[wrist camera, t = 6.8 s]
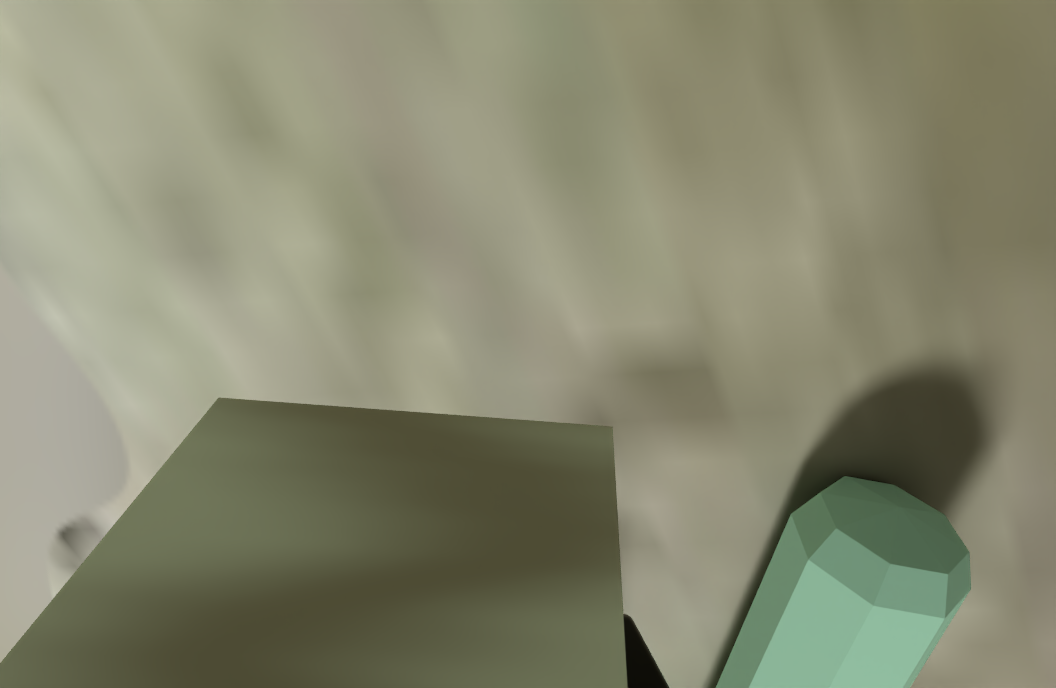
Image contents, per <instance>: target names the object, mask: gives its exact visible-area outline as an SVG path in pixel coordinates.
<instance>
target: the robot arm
mask: <svg viewBox="0 0 1056 688" xmlns="http://www.w3.org/2000/svg"><path fill="white" fill-rule="evenodd" d="M623 618H624V636H625V653H626V670H627V688H669V686H668V684H667V682H666V681H665V679H664V677H663V675H662V673H661V671H660V669H659V668H658V666H657V664H656V662H655V660H654V658H653V656H652V655H651V653H650V651H649V649H648V647H647V645H646V643H645V642H644V640H643V638H642V636H641V634H640V632H639V630H638V629H637V627H636V625H635V623H634V621H633V620H632V618H631V617H630V616H628V615H626V614H623Z"/></svg>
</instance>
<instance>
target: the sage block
mask: <svg viewBox="0 0 1056 688" xmlns="http://www.w3.org/2000/svg"><path fill="white" fill-rule="evenodd" d="M0 688H627V670H626V653H625V636H624V618H623V601H622V584H621V566H620V549H619V532H618V514H617V497H616V480H615V462H614V445H613V428H612V427H611V426H598V425H584V424H570V423H557V422H543V421H529V420H516V419H502V418H488V417H475V416H461V415H448V414H434V413H420V412H407V411H393V410H379V409H366V408H352V407H338V406H325V405H311V404H297V403H284V402H270V401H257V400H243V399H229V398H218V399H217V400H216V402H215V403H214V404H213V405H212V406H211V408H210V409H209V410H208V411H207V412H206V414H205V415H204V416H203V417H202V419H201V420H200V421H199V422H198V423H197V425H196V426H195V427H194V428H193V430H192V431H191V432H190V433H189V434H188V436H187V437H186V438H185V439H184V440H183V442H182V443H181V444H180V445H179V447H178V448H177V449H176V450H175V451H174V453H173V454H172V455H171V456H170V457H169V459H168V460H167V461H166V462H165V464H164V465H163V466H162V467H161V468H160V470H159V471H158V472H157V473H156V475H155V476H154V477H153V478H152V479H151V481H150V482H149V483H148V484H147V485H146V487H145V488H144V489H143V490H142V492H141V493H140V494H139V495H138V496H137V498H136V499H135V500H134V501H133V502H132V504H131V505H130V506H129V507H128V509H127V510H126V511H125V512H124V513H123V515H122V516H121V517H120V518H119V519H118V521H117V522H116V523H115V524H114V526H113V527H112V528H111V529H110V530H109V532H108V533H107V534H106V535H105V537H104V538H103V539H102V540H101V541H100V543H99V544H98V545H97V546H96V547H95V549H94V550H93V551H92V552H91V554H90V555H89V556H88V557H87V558H86V560H85V561H84V562H83V563H82V564H81V566H80V567H79V568H78V569H77V571H76V572H75V573H74V574H73V575H72V577H71V578H70V579H69V580H68V582H67V583H66V584H65V585H64V586H63V588H62V589H61V590H60V591H59V592H58V594H57V595H56V596H55V597H54V599H53V600H52V601H51V602H50V604H49V605H48V606H47V607H46V608H45V610H44V611H43V612H42V613H41V614H40V616H39V617H38V618H37V619H36V620H35V622H34V623H33V624H32V625H31V627H30V628H29V629H28V630H27V631H26V633H25V634H24V635H23V636H22V637H21V639H20V640H19V641H18V642H17V644H16V645H15V646H14V647H13V648H12V650H11V651H10V652H9V653H8V654H7V656H6V657H5V658H4V659H3V661H2V662H1V663H0Z"/></svg>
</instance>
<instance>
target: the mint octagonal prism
mask: <svg viewBox="0 0 1056 688" xmlns="http://www.w3.org/2000/svg"><path fill="white" fill-rule="evenodd" d="M970 589H971V578H970V555H969V551H968V549H967V548H966V546H965V545H964V543H963V542H962V540H961V539H960V537H959V536H958V534H957V533H956V531H955V530H954V528H953V527H952V525H951V524H950V522H949V521H948V519H947V518H946V516H945V515H944V514H942V513H941V512H939V511H937V510H936V509H934V508H932V507H931V506H929V505H927V504H926V503H924V502H922V501H921V500H919V499H917V498H915V497H914V496H912V495H910V494H909V493H907V492H905V491H904V490H902V489H900V488H899V487H897V486H895V485H892V484H887V483H881V482H875V481H870V480H864V479H859V478H853V477H848V476H844V477H842V478H841V479H839V480H838V481H836V482H835V483H833V484H832V485H830V486H829V487H827V488H826V489H824V490H823V491H821V492H820V493H819V494H817V495H816V496H814V497H813V498H812V499H810V500H809V501H808V502H806V503H805V504H804V505H802V506H801V507H800V508H798V509H797V510H796V511H794V512H793V513H792V514H791V515H790V517H789V520H788V522H787V524H786V527H785V529H784V531H783V534H782V536H781V538H780V540H779V543H778V545H777V547H776V550H775V552H774V554H773V557H772V559H771V561H770V564H769V566H768V568H767V571H766V573H765V575H764V577H763V580H762V582H761V584H760V587H759V589H758V591H757V594H756V596H755V598H754V601H753V603H752V605H751V607H750V610H749V612H748V614H747V617H746V619H745V621H744V624H743V626H742V628H741V631H740V633H739V635H738V638H737V640H736V642H735V644H734V647H733V649H732V651H731V654H730V656H729V658H728V661H727V663H726V665H725V668H724V670H723V672H722V675H721V677H720V679H719V681H718V684H717V686H716V688H910V687H911V685H912V684H913V682H914V680H915V679H916V677H917V675H918V674H919V672H920V671H921V669H922V667H923V666H924V664H925V662H926V661H927V659H928V658H929V656H930V654H931V653H932V651H933V650H934V648H935V646H936V645H937V643H938V641H939V640H940V638H941V637H942V635H943V633H944V632H945V630H946V628H947V627H948V625H949V624H950V622H951V620H952V619H953V617H954V615H955V614H956V612H957V611H958V609H959V607H960V606H961V604H962V602H963V601H964V599H965V598H966V596H967V594H968V593H969V591H970Z"/></svg>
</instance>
